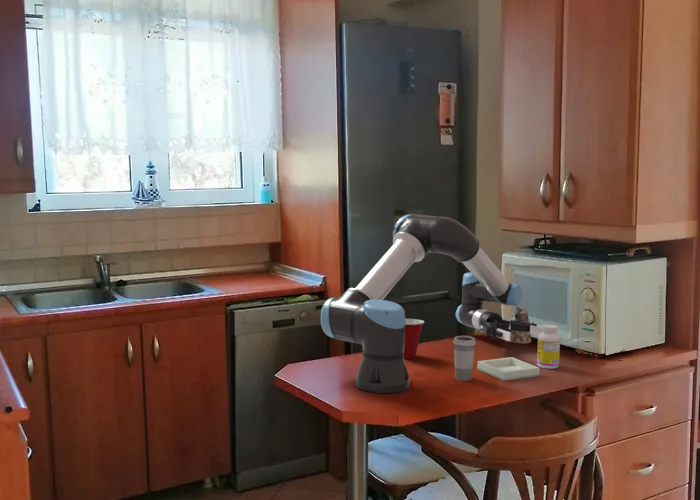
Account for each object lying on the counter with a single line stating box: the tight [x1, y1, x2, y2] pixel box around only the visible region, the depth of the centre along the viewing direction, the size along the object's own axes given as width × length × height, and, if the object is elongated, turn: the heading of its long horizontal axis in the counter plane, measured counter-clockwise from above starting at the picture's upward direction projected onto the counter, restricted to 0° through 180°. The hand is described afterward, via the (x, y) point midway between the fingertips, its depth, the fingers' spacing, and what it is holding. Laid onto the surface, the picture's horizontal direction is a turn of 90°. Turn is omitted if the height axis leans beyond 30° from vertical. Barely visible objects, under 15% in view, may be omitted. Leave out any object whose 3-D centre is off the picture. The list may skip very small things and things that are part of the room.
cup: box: [452, 335, 477, 382], centre depth 218 cm, size 7×7×12 cm
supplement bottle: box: [536, 323, 561, 370], centre depth 233 cm, size 7×7×13 cm
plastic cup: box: [404, 318, 425, 359], centre depth 242 cm, size 11×11×12 cm
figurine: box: [510, 306, 532, 344], centre depth 265 cm, size 7×7×12 cm
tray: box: [476, 356, 541, 382], centre depth 226 cm, size 13×13×2 cm
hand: (527, 335), depth 242 cm, fingers open, 13 cm apart
